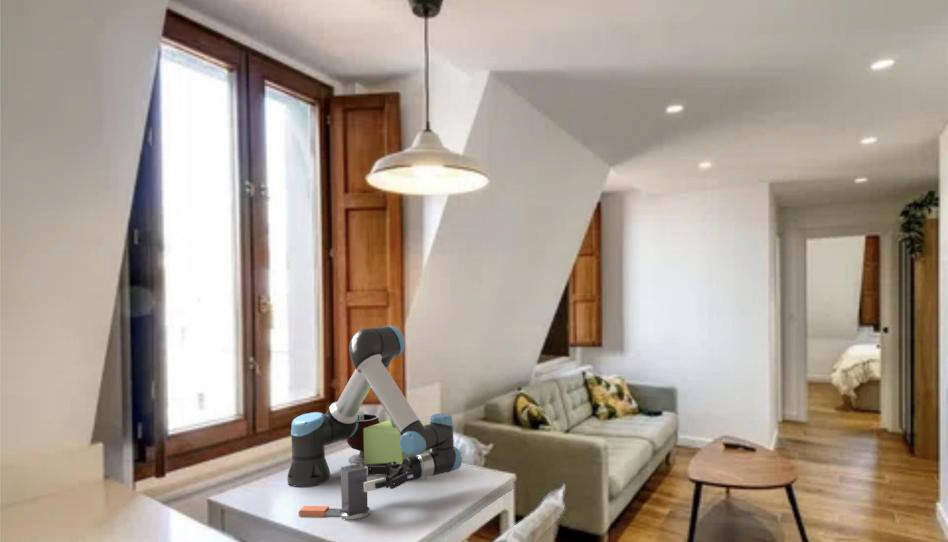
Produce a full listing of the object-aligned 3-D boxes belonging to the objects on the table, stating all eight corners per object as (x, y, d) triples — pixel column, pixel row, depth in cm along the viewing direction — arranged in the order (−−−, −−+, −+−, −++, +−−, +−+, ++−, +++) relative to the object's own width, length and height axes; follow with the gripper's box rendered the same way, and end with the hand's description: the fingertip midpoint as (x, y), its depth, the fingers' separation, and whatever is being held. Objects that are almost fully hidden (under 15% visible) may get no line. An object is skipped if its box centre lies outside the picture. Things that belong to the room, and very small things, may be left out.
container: (364, 473, 206) (362, 420, 207) (393, 461, 220) (391, 411, 221) (402, 482, 196) (401, 425, 197) (430, 468, 209) (429, 416, 210)
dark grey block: (348, 516, 164) (347, 472, 165) (341, 510, 169) (340, 467, 170) (367, 511, 167) (366, 468, 168) (360, 505, 172) (359, 463, 173)
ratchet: (373, 509, 172) (373, 496, 172) (364, 521, 163) (364, 507, 163) (306, 508, 175) (306, 495, 175) (294, 520, 166) (294, 506, 166)
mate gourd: (382, 462, 220) (381, 412, 221) (347, 466, 216) (346, 415, 217) (378, 451, 235) (376, 404, 235) (345, 455, 231) (343, 407, 231)
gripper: (436, 489, 169) (371, 505, 158) (401, 469, 190) (342, 482, 179) (435, 464, 170) (370, 479, 158) (400, 447, 191) (341, 459, 179)
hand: (355, 481), depth 168 cm, fingers open, 13 cm apart
